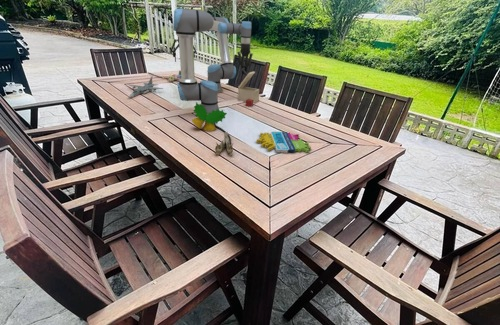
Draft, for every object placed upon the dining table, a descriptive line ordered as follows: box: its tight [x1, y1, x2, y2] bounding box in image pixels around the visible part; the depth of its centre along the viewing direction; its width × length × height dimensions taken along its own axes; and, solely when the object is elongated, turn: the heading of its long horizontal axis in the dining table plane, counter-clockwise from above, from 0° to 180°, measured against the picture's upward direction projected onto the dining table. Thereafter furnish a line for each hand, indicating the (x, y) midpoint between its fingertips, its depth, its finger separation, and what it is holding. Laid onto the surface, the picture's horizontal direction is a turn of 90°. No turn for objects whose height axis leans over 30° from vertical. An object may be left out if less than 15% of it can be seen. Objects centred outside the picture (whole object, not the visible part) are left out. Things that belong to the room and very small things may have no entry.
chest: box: [237, 86, 260, 104], centre depth 223 cm, size 15×10×10 cm, turn 64°
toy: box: [161, 70, 181, 82], centre depth 276 cm, size 28×7×30 cm
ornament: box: [191, 101, 228, 132], centre depth 162 cm, size 21×8×15 cm, turn 105°
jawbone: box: [214, 131, 234, 156], centre depth 136 cm, size 9×15×10 cm
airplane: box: [127, 75, 164, 99], centre depth 224 cm, size 38×31×10 cm
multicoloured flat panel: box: [256, 131, 312, 154], centre depth 152 cm, size 26×2×30 cm
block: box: [245, 99, 254, 108], centre depth 212 cm, size 5×5×5 cm
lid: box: [237, 67, 256, 89], centre depth 219 cm, size 16×10×8 cm
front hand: (184, 61), depth 211 cm, fingers open, 13 cm apart
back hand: (244, 74), depth 217 cm, fingers closed on lid, 2 cm apart
